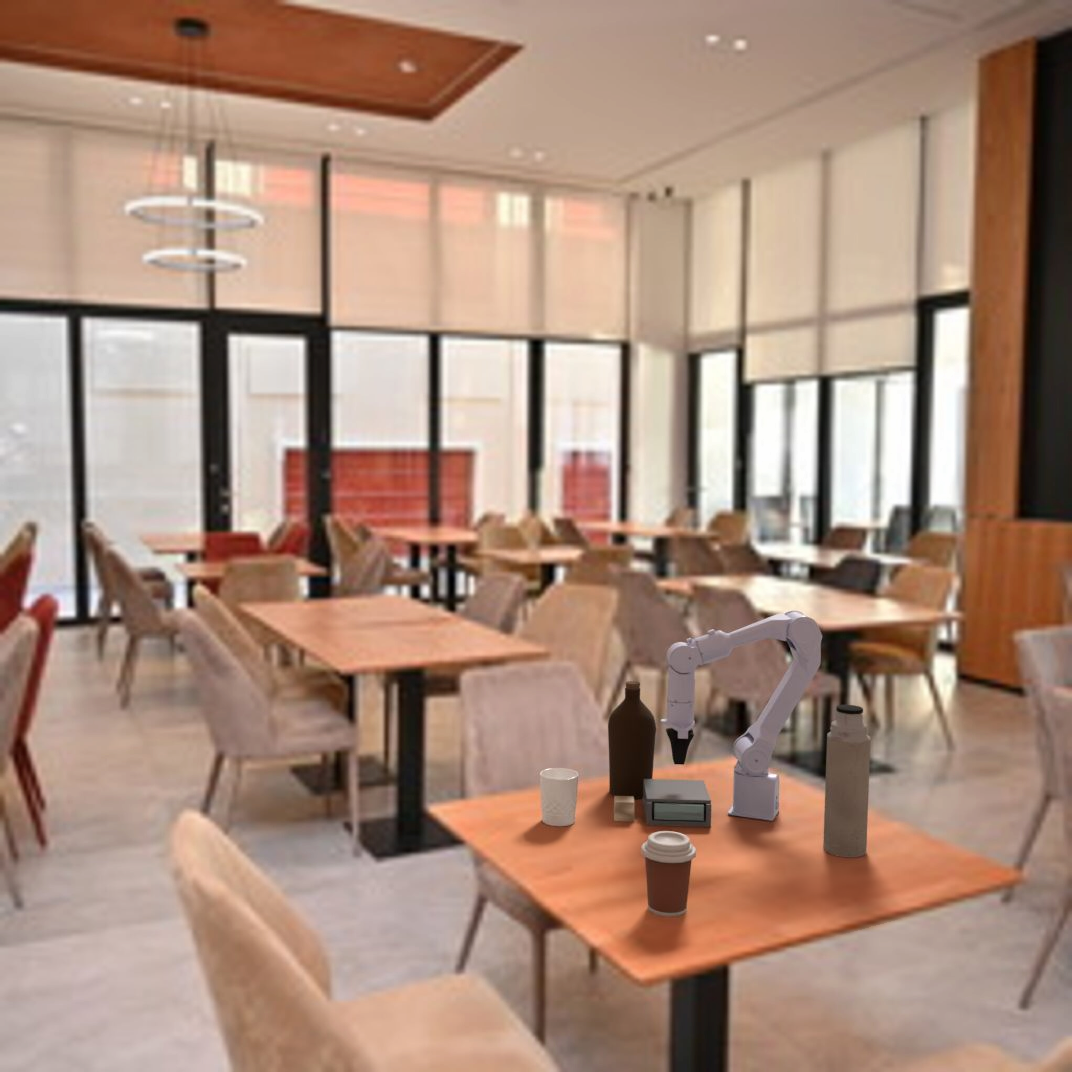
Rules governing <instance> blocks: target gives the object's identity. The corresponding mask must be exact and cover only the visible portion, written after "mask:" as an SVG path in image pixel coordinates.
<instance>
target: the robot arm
mask: <svg viewBox="0 0 1072 1072" xmlns="http://www.w3.org/2000/svg"><path fill="white" fill-rule="evenodd" d="M707 633H708V634H703V635H701V636H698V637H694V638H691V637H689V638H686V642H683V641H677V642H675V643H672V644H671V646H670V647H669V648H668V649H667V651H666V654H665V659H666V662H667V663H668V665H669V666H668V672H667V674H668V677H667V694H666V718H662V719H660V724H661V725H666V726H668V728H666V729H665V732H666V734H667V738H668V739H669V742H670V747H671V754H672V760H673V764H674V765H680V766H681V765H685V762H686V759H687V755H688V754H687V753H688V749H689V747H690V744H691V742H692V740H693V739H694V737H695V733H694V729H693V727H694V726H695V723H696V722H695V691H696V689H695V688H696V685H695V684H696V679H695V672H696V671H695V670H696V669H697V667H698V666H703V665H706V664H709V663H712V662H715V661H718V660H721V659H724V658H726V657H729V656H730V654H731V653H732V651H733V649H735V648H738V647H741V646H745V645H749V644H752V643H755V642H758V641H763V640H766V639H769V638H770V639H775V640H779V641H784V642H787V644H788V646H789V648H790V652H791V655H792V657H793V660H792V662H791V663H790V665H789V666H788V668H787V670H786V672H785V674H784V675H783V677H782V678H781V680H780V682H779V683H778V686H777V687H776V688H775V690H774V691H773V693H772V695H771V696H770V698H769V701H768V702H767V704H766V705H765V707H764V708H763V710H762V712H761V713H760V715H759V717H758V719H757V720H756V722H755V723H753V724H751V725H750V726H749V727H748V728H747V730H746V731H745V732H744V733H743V734H742V735H741V736H739V737H737V738H736V740H735V741H734V742H733V745H732V753H733V756H734V758H736V760H737V761H736V763H735V765H734V767H733V784H732V785H733V788H732V789H733V790H732V791H733V792H732V795H733V796H732V797H733V798H732V806H731V807H730V808H729V810H728V811H727V815H729V816H734V817H735V816H736V817H742V818H750V819H755V820H756V819H757V820H763V821H771V822H772V821H774V819H775V818H776V816H777V815H778V813H779V811H780V807H779V806H780V803H779V802H780V775H779V774H778V773H777V774H775V773H772V772H770V768H771V767H770V766H771V763H772V755H773V753H774V751H775V750H776V746H777V739H778V736H779V734H780V733H781V731H782V729H783V728H784V726H785V724H786V723H787V721H788V719H789V718H790V716H791V715H792V713H793V711H794V710H795V707H796V706H797V704H798V702H799V701H800V699H801V698H802V696H803V694H804V693H805V691H806V690H807V688H808V687H809V684H810V683H811V682H812V680H813V678H814V676H815V674H817V671H818V670H819V668H820V666H821V662H822V661H821V656H822V653H821V649H822V647H821V646H822V639H823V634H822V632H821V629H820V627H819V625H818V623H817V622H816V620H815V619H814V618H812V617H809V616H806V615H805V614H804V613H803V612H801V611H799V610H796V609H795V610H788V611H787V612H785V613H784V612H783V613H782V612H780V613H776V614H774V615H772V616H769V617H766V618H764V619H761V620H758V621H756V622H753V623H751V624H749V625H748V624H747V625H746V626H744V627H741V628H739V629H736V630H734V631H731V632H728V633H727V632H724V630H723V631H722V630H721V629H719V630H715V628H714V629H713V628H712V629H709V630H708V631H707Z"/></svg>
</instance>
